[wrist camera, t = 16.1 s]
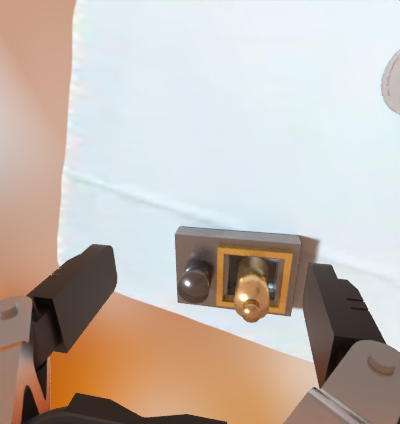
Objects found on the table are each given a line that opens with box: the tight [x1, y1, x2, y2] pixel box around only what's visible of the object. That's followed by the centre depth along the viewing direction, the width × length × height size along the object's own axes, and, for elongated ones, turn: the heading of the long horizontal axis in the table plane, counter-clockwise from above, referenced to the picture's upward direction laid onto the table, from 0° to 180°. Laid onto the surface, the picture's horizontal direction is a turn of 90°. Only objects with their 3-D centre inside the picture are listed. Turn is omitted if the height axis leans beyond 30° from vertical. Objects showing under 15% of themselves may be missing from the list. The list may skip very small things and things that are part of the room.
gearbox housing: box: [175, 227, 301, 316], centre depth 46 cm, size 20×14×8 cm
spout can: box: [234, 256, 269, 323], centre depth 44 cm, size 5×5×12 cm
